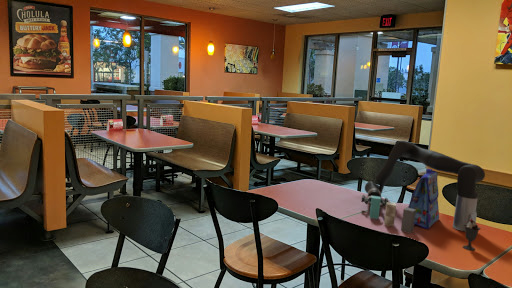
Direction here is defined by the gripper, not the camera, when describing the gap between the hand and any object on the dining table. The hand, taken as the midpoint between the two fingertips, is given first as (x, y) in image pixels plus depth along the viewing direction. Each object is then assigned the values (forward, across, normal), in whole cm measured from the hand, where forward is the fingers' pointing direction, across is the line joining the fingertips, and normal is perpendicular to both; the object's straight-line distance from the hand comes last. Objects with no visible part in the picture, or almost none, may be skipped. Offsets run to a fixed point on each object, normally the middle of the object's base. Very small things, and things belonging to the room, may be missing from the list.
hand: (375, 203), depth 221 cm
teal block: (+3, 0, +6) cm, 7 cm away
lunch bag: (-1, +24, +7) cm, 25 cm away
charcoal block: (+18, +15, +6) cm, 24 cm away
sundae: (+30, +41, +7) cm, 51 cm away
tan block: (+12, +7, +6) cm, 15 cm away
